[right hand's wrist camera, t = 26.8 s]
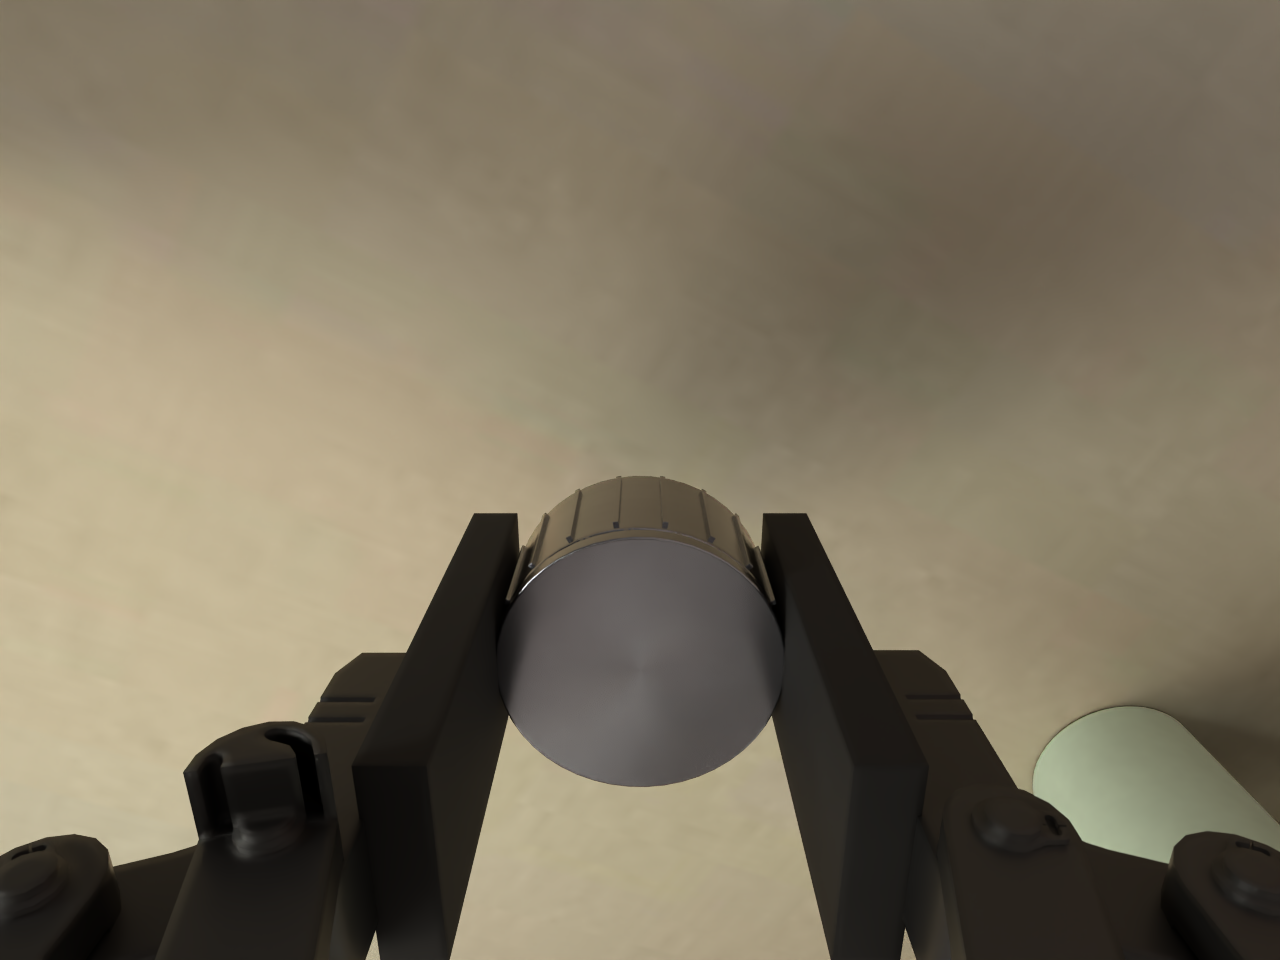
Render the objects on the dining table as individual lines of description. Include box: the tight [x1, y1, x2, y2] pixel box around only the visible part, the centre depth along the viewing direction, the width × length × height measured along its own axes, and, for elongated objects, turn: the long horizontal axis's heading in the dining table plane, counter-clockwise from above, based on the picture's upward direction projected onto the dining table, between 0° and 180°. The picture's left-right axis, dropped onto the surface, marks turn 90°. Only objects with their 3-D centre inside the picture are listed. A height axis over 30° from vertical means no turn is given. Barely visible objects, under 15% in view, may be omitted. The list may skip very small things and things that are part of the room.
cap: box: [496, 476, 785, 787], centre depth 13 cm, size 4×4×3 cm
